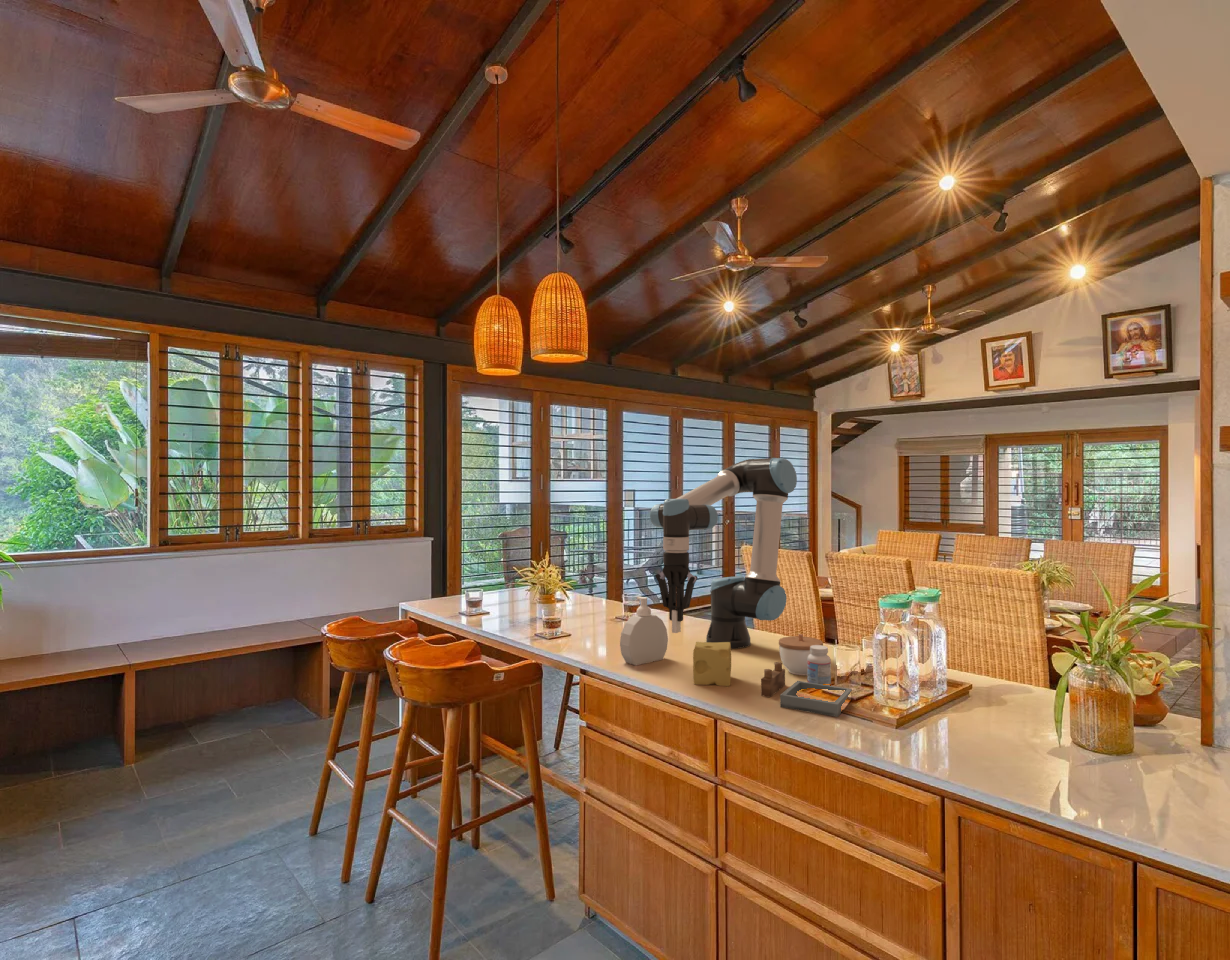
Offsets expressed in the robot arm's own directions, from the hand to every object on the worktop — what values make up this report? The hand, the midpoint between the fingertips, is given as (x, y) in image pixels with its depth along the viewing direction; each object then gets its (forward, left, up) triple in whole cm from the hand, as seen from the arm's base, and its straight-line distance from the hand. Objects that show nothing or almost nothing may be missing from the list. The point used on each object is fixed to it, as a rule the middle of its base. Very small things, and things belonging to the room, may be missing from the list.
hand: (676, 632), depth 196 cm
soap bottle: (-8, -16, -13) cm, 22 cm away
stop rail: (0, +29, -13) cm, 32 cm away
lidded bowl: (-21, +30, -13) cm, 39 cm away
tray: (+5, +42, -13) cm, 44 cm away
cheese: (0, +11, -13) cm, 17 cm away
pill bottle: (-8, +39, -13) cm, 42 cm away
